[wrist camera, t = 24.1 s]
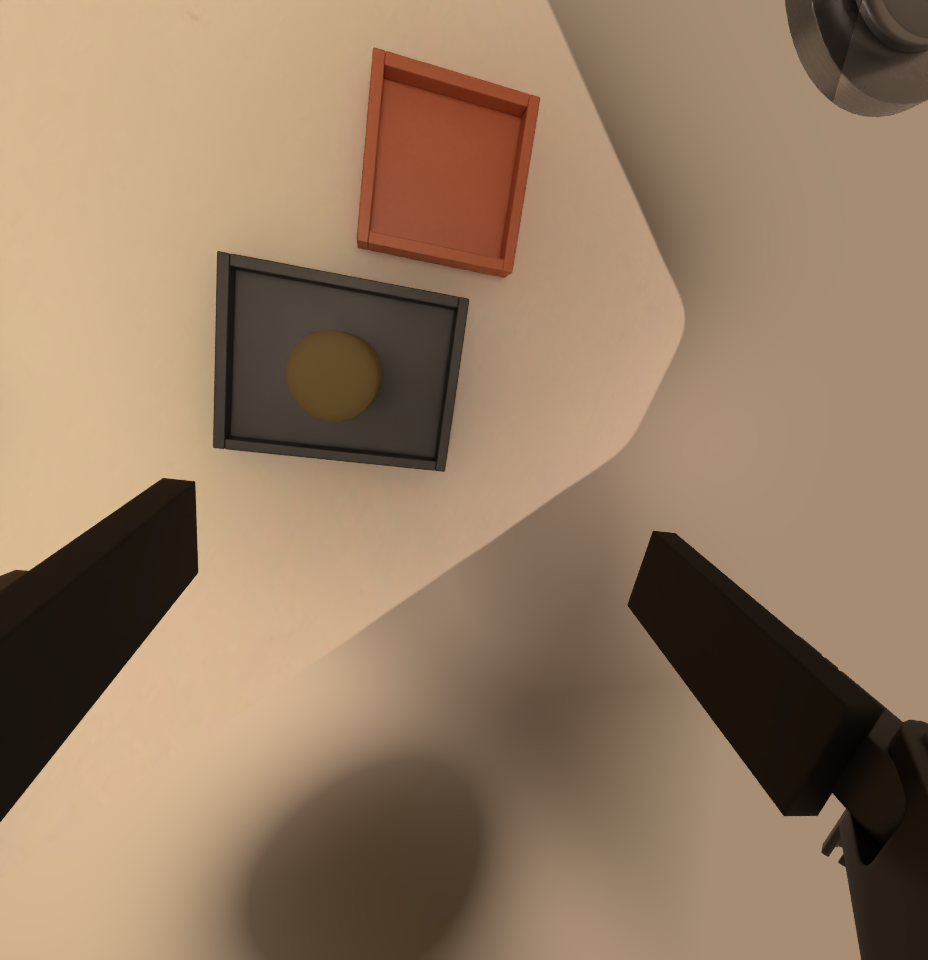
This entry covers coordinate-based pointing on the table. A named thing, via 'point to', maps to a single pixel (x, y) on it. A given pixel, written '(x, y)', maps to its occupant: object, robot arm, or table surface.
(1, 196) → the table surface
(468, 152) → the terracotta tray
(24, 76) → the table surface
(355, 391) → the cork
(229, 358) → the charcoal tray
